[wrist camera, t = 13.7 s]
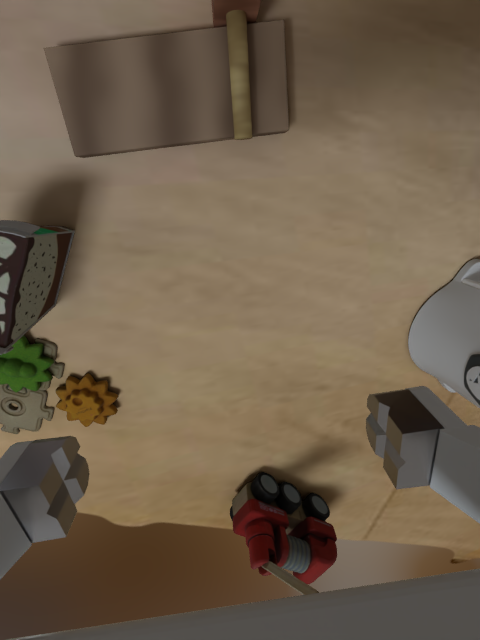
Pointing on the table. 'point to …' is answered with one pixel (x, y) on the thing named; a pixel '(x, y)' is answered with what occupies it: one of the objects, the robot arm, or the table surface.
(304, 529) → the toy fire truck
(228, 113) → the walnut board
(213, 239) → the table surface
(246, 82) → the toy wooden hammer
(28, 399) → the gear puzzle
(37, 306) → the food container
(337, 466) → the table surface
